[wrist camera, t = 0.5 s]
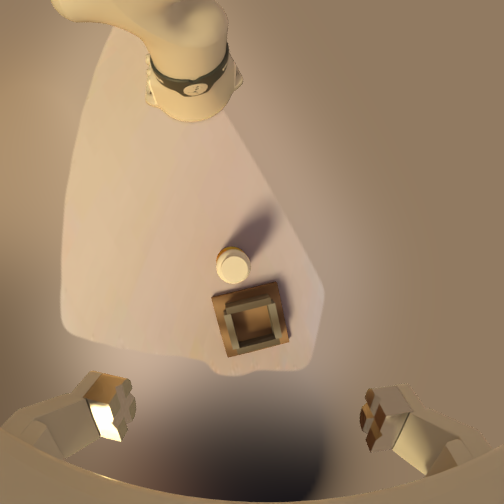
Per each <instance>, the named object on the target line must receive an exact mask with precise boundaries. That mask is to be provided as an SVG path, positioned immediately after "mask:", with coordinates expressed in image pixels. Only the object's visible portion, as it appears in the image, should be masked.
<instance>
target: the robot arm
mask: <svg viewBox="0 0 504 504" xmlns="http://www.w3.org/2000/svg"><path fill="white" fill-rule="evenodd" d="M51 3H52V5H53V6H54V8H55V9H56V10H57V12H58V13H59V14H60V15H62V16H63V17H64V18H66V19H68V20H70V21H72V22H76V23H78V22H93V23H103V24H108V25H112V26H115V27H118V28H121V29H124V30H126V31H128V32H130V33H132V34H134V35H136V36H137V37H139V38H140V39H141V40H142V41H143V42H144V44H145V46H146V48H147V50H148V52H149V54H147V55H146V63H147V65H149V69H147V76H148V78H147V87H146V97H145V99H146V102H147V104H149V105H151V106H154V107H158V108H160V109H162V110H163V111H164V112H165V113H166V114H168V115H169V116H171V117H172V118H174V119H177V120H180V121H186V122H195V121H201V120H205V119H208V118H210V117H212V116H214V115H216V114H217V113H218V112H220V111H221V110H222V109H223V108H224V107H225V106H226V104H227V103H228V101H229V99H230V97H231V95H232V93H233V92H234V91H235V90H236V89H238V88H239V87H240V86H241V85H242V83H243V78H242V75H241V73H240V72H239V70H238V68H237V66H236V63H235V62H234V60H233V59H232V57H231V55H230V53H229V48H228V43H227V31H228V18H227V15H226V13H225V11H224V9H223V8H222V7H221V6H220V5H219V4H218V3H217V2H216V1H215V0H51ZM151 93H152V94H151ZM131 390H132V385H131V381H130V380H129V379H127V378H123V377H118V376H113V375H109V374H105V373H101V372H97V371H90V372H89V373H88V374H87V375H86V376H85V377H84V379H83V380H82V381H81V382H80V383H79V384H78V385H77V387H76V388H75V389H74V390H73V391H72V393H71V394H68V393H65V394H63V395H60V396H57V397H54V398H51V399H48V400H45V401H43V402H40V403H37V404H34V405H31V406H28V407H25V408H21V409H18V410H16V412H15V413H14V414H13V415H12V416H11V417H10V418H9V419H8V420H7V421H6V422H5V423H4V424H3V425H2V426H1V427H0V504H504V444H503V445H501V446H499V447H497V448H495V449H492V447H491V446H490V445H489V443H488V442H487V440H486V439H485V438H484V437H483V435H482V434H481V433H480V431H479V430H478V429H475V428H473V427H470V426H468V425H466V424H464V423H461V422H459V421H457V420H454V419H452V418H450V417H448V416H446V415H443V414H441V413H439V412H437V411H434V410H433V409H430V408H429V409H426V408H425V406H424V405H423V404H422V402H421V401H420V399H419V398H418V396H417V395H416V393H415V392H414V391H413V389H412V388H411V386H410V385H409V384H407V383H404V384H398V385H394V386H387V387H379V388H371V389H368V391H367V392H366V395H365V399H366V401H367V403H366V404H365V405H364V406H362V408H361V412H360V426H361V429H362V431H363V432H365V433H366V434H367V437H366V442H367V445H368V447H369V450H370V452H371V453H372V452H378V451H384V450H390V449H393V451H394V452H395V453H397V454H398V455H399V456H401V457H402V458H403V459H405V460H406V461H407V462H408V463H410V464H411V465H412V466H414V467H415V468H416V469H418V470H419V471H420V472H422V473H423V474H425V477H424V478H423V479H420V480H417V481H413V482H409V483H406V484H403V485H399V486H395V487H391V488H387V489H382V490H378V491H374V492H368V493H363V494H358V495H352V496H346V497H339V498H332V499H323V500H313V501H299V502H269V503H268V502H237V501H222V500H212V499H204V498H195V497H189V496H182V495H177V494H171V493H166V492H161V491H157V490H152V489H148V488H144V487H140V486H136V485H132V484H128V483H125V482H121V481H118V480H114V479H111V478H108V477H105V476H102V475H99V474H96V473H93V472H91V471H88V470H85V469H83V468H80V467H77V466H75V465H72V464H70V463H68V462H66V460H65V459H66V458H68V457H69V456H71V455H73V454H74V453H76V452H78V451H79V450H81V449H82V448H84V447H86V446H88V445H89V444H91V443H92V442H94V441H96V440H97V439H99V438H100V436H101V437H105V438H108V439H112V440H116V441H121V442H122V440H123V438H124V436H125V434H126V432H127V430H128V428H127V425H126V424H128V423H130V422H132V421H133V419H134V417H135V412H136V401H135V397H134V396H133V395H132V394H131V393H130V391H131Z"/></svg>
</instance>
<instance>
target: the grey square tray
mask: <svg viewBox="0 0 504 504" xmlns="http://www.w3.org/2000/svg"><path fill="white" fill-rule="evenodd" d="M212 302H213V306H214V310H215V313H216V317H217V321H218V324H219V328H220V332H221V335H222V339H223V342H224V346H225V349H226V353H227V356H228V357H232V356H236V355H241V354H245V353H249V352H253V351H257V350H261V349H265V348H269V347H272V346H276V345H280V344H283V343H287V342H289V339H288V334H287V329H286V324H285V319H284V314H283V309H282V304H281V300H280V295H279V290H278V285H277V282H272V283H268V284H264V285H260V286H256V287H252V288H248V289H244V290H240V291H236V292H231V293H227V294H223V295H219V296H214V297H212Z"/></svg>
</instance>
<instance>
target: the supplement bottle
mask: <svg viewBox="0 0 504 504" xmlns="http://www.w3.org/2000/svg"><path fill="white" fill-rule="evenodd" d="M216 269H217V273H218V275H219V277H220V278H221V279H222V280H223V281H225V282H227V283H231V284H236V283H240V282H242V281H243V280H245V279H246V278H247V276H248V275H249V273H250V269H251V264H250V260H249V258H248V257H247V255H246V254H245V253H244V252H243V251H242V250H241V249H239V248H237V247H226V248H224V249H223V250H221V251H220V253H219V254H218V256H217V260H216Z"/></svg>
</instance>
